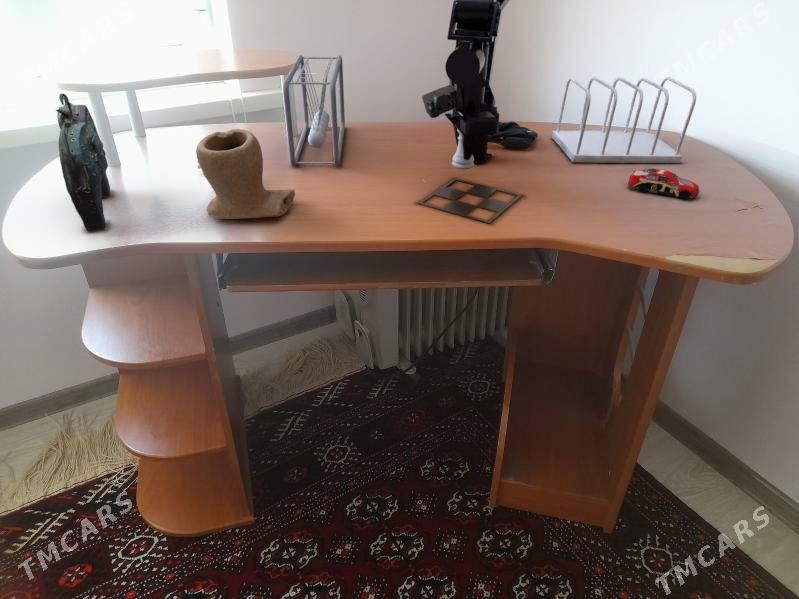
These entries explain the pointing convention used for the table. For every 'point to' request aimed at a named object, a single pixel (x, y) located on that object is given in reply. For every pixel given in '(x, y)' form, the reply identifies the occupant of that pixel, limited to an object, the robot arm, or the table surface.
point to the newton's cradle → (321, 117)
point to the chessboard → (465, 208)
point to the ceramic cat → (83, 163)
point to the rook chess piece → (461, 156)
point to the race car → (663, 183)
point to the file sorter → (620, 143)
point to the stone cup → (238, 177)
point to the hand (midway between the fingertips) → (463, 156)
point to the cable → (513, 136)
